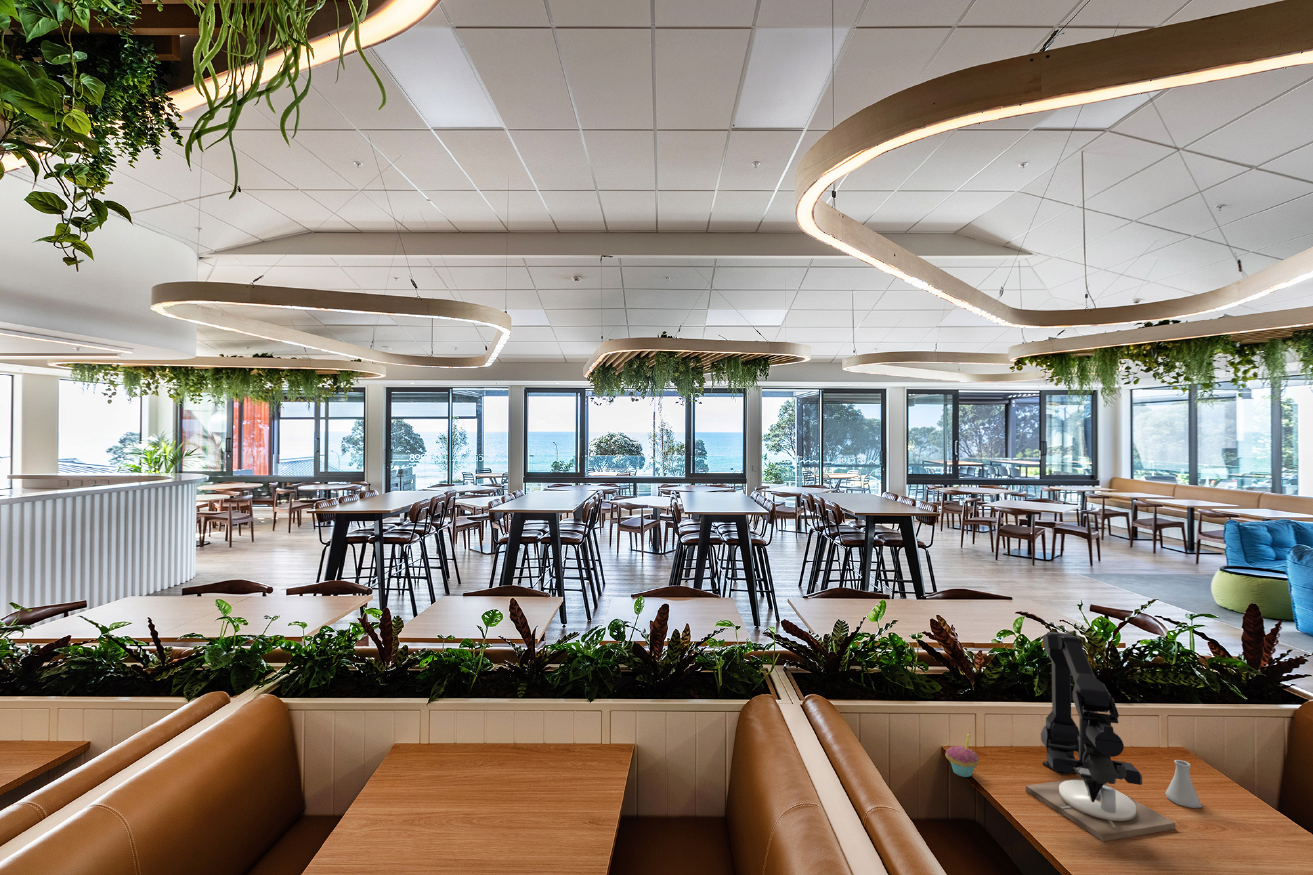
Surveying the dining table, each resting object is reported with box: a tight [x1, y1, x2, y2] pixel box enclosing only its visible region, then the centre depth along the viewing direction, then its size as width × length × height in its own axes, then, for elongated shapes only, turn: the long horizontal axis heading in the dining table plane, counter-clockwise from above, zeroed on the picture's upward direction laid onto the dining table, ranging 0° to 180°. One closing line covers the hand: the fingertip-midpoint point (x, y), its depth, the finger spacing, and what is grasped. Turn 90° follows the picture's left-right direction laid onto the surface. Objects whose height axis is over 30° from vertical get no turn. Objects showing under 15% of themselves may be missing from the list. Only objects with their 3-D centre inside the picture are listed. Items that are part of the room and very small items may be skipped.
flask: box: [1164, 759, 1203, 809], centre depth 159 cm, size 7×7×10 cm
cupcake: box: [945, 731, 980, 778], centre depth 172 cm, size 9×8×12 cm
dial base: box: [1025, 777, 1176, 842], centre depth 155 cm, size 22×22×2 cm
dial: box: [1059, 779, 1136, 821], centre depth 155 cm, size 16×16×6 cm
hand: (1092, 801), depth 150 cm, fingers closed
